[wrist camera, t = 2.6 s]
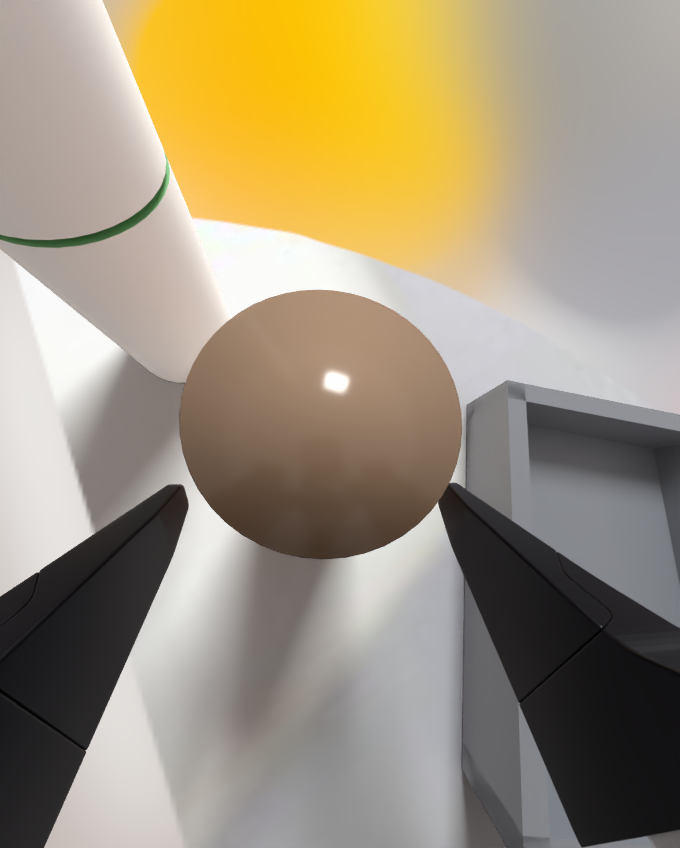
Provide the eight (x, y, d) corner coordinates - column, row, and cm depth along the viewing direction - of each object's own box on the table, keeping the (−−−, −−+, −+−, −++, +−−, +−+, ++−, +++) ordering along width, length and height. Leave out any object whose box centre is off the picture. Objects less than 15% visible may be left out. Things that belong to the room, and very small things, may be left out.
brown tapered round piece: (353, 525, 18) (459, 580, 5) (257, 510, 17) (131, 533, 5) (365, 433, 20) (463, 317, 7) (278, 417, 19) (226, 266, 7)
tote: (716, 793, 16) (866, 900, 12) (461, 769, 15) (524, 878, 11) (648, 439, 22) (730, 424, 18) (467, 404, 21) (507, 380, 17)
